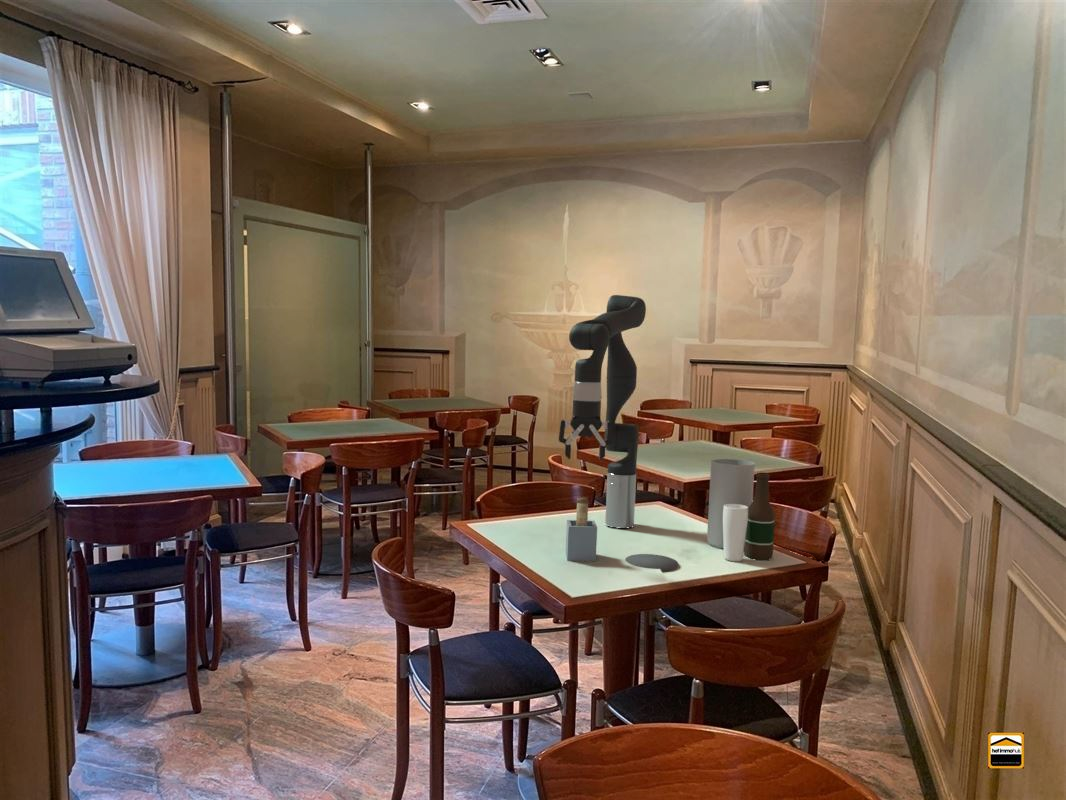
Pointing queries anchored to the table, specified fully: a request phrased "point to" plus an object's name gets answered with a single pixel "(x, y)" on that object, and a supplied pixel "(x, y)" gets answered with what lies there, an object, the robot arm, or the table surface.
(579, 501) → the beech dowel
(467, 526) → the table surface
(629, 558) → the gray disc
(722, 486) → the cylinder vase
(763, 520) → the beer bottle
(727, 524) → the drinking glass
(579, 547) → the deep cup
